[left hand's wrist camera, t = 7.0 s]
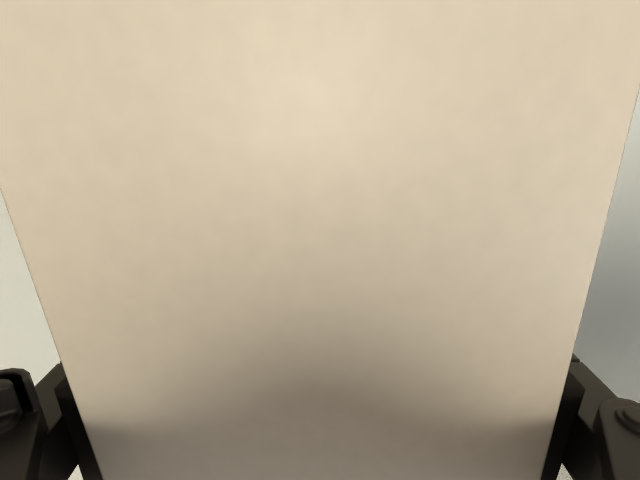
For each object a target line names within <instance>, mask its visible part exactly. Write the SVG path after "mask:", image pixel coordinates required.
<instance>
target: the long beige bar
mask: <svg viewBox="0 0 640 480" xmlns="http://www.w3.org/2000/svg"><path fill="white" fill-rule="evenodd" d="M639 89H640V0H0V190H1V193H2V196H3V198H4V201H5V204H6V207H7V210H8V212H9V215H10V218H11V221H12V224H13V227H14V229H15V232H16V235H17V238H18V241H19V244H20V246H21V249H22V252H23V255H24V258H25V261H26V263H27V266H28V269H29V272H30V275H31V277H32V280H33V283H34V286H35V289H36V292H37V294H38V297H39V300H40V303H41V306H42V309H43V311H44V314H45V317H46V320H47V323H48V325H49V328H50V331H51V334H52V337H53V340H54V342H55V345H56V348H57V351H58V354H59V357H60V359H61V362H62V365H63V368H64V371H65V374H66V376H67V379H68V382H69V385H70V388H71V390H72V393H73V396H74V399H75V402H76V405H77V407H78V410H79V413H80V416H81V419H82V422H83V424H84V427H85V430H86V433H87V436H88V438H89V441H90V444H91V447H92V450H93V453H94V455H95V458H96V461H97V464H98V467H99V470H100V472H101V475H102V478H103V480H541V476H542V472H543V468H544V464H545V460H546V456H547V452H548V448H549V444H550V440H551V436H552V432H553V428H554V424H555V420H556V417H557V413H558V409H559V405H560V401H561V397H562V393H563V389H564V385H565V381H566V377H567V373H568V369H569V365H570V361H571V357H572V353H573V349H574V346H575V342H576V338H577V334H578V330H579V326H580V322H581V318H582V314H583V310H584V306H585V302H586V298H587V294H588V290H589V286H590V282H591V278H592V274H593V271H594V267H595V263H596V259H597V255H598V251H599V247H600V243H601V239H602V235H603V231H604V227H605V223H606V219H607V215H608V211H609V207H610V203H611V200H612V196H613V192H614V188H615V184H616V180H617V176H618V172H619V168H620V164H621V160H622V156H623V152H624V148H625V144H626V140H627V136H628V132H629V128H630V125H631V121H632V117H633V113H634V109H635V105H636V101H637V97H638V93H639Z"/></svg>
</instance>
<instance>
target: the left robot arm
mask: <svg viewBox="0 0 640 480" xmlns="http://www.w3.org/2000/svg"><path fill="white" fill-rule="evenodd" d="M561 463H563V465H564V466H565V468H566V469H567V471H568V472H569V474H570V475H571V477H572V478H573V480H640V403H637V402H634V401H632V400H627V399H622V398H618V397H617V396H616V395H615V394H614V393H613V392H612V391H611V390H610V389H609V388H608V387H607V386H606V385H605V384H604V383H603V382H602V381H601V380H600V379H598V378H597V377H596V376H595V375H594V374H593V373H592V372H591V371H590V370H589V369H588V368H587V367H586V366H585V365H584V364H583V363H582V362H580V361H579V359H578V358H577V357H576V356H575V355H574V354H573V353H572V357H571V361H570V365H569V369H568V373H567V377H566V381H565V385H564V389H563V393H562V397H561V401H560V405H559V409H558V413H557V417H556V420H555V424H554V428H553V432H552V436H551V440H550V444H549V448H548V452H547V456H546V460H545V464H544V468H543V472H542V476H541V480H556V479H557V476H558V473H559V470H560V467H561ZM77 465H79V468H80V471H81V474H82V477H83V480H103V478H102V475H101V472H100V470H99V467H98V464H97V461H96V458H95V455H94V453H93V450H92V447H91V444H90V441H89V438H88V436H87V433H86V430H85V427H84V424H83V422H82V419H81V416H80V413H79V410H78V407H77V405H76V402H75V399H74V396H73V393H72V390H71V388H70V385H69V382H68V379H67V376H66V374H65V371H64V368H63V365H62V362H61V361H60V364H57V365H56V366H55V367H54V368H53V369H52V370H51V371H50V372H49V373H48V374H47V375H46V376H45V377H44V378H43V379H42V380H41V381H40V382H39V383H38V384H37V385H36V386H35V387H34V384H33V381H32V378H31V376H30V373H29V372H27V371H26V370H24V369H18V368H10V369H4V370H0V480H68V478H69V477H70V475H71V474H72V472H73V471H74V469H75V468H76V466H77Z"/></svg>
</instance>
